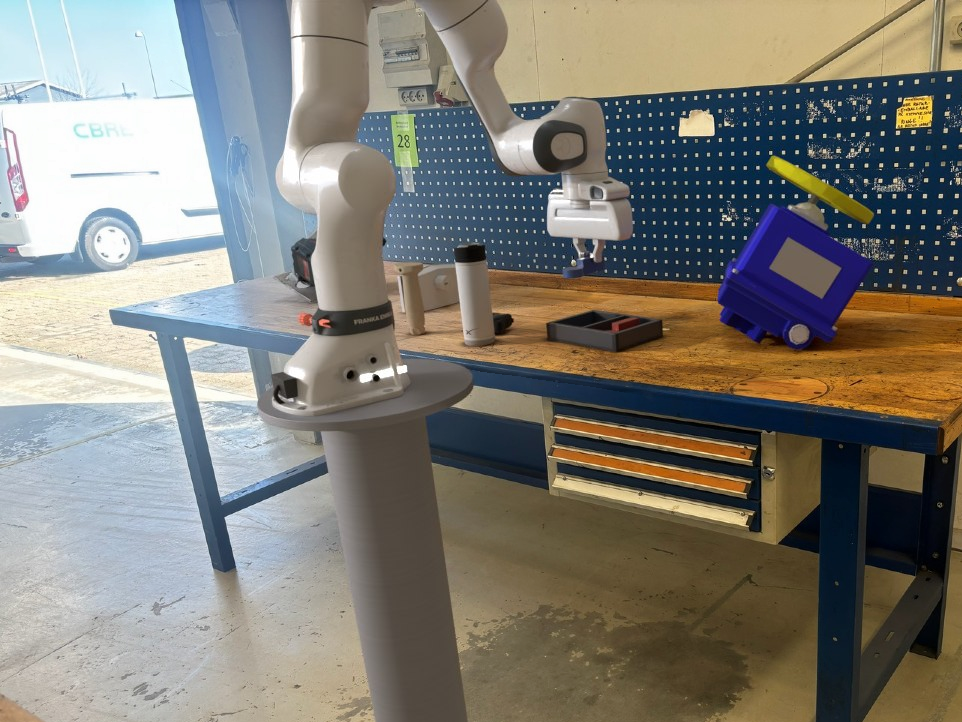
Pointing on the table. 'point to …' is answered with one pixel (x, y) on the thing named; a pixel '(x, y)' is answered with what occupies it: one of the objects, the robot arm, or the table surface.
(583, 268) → the blue stepped block
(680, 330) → the table surface
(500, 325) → the tape measure
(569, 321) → the sorting tray
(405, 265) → the handle
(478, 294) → the travel mug
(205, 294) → the table surface
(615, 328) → the red stepped block
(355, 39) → the robot arm
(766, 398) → the table surface
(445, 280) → the lock
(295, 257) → the circular saw
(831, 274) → the control box
